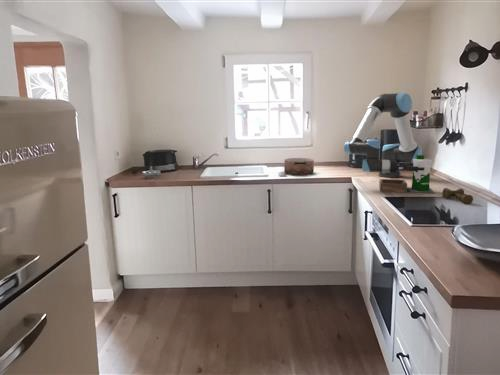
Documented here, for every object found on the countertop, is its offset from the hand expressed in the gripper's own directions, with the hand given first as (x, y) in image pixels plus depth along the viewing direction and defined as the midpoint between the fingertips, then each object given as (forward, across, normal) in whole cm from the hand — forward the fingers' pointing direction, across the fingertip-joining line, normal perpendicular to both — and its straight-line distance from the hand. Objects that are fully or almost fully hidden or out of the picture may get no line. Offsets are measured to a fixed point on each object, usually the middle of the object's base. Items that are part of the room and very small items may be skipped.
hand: (428, 167), depth 222 cm
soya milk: (-3, 0, -14) cm, 14 cm away
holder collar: (-19, 0, -14) cm, 23 cm away
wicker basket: (-83, -52, -14) cm, 99 cm away
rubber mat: (-3, 0, -14) cm, 14 cm away
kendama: (+12, +21, -14) cm, 28 cm away
